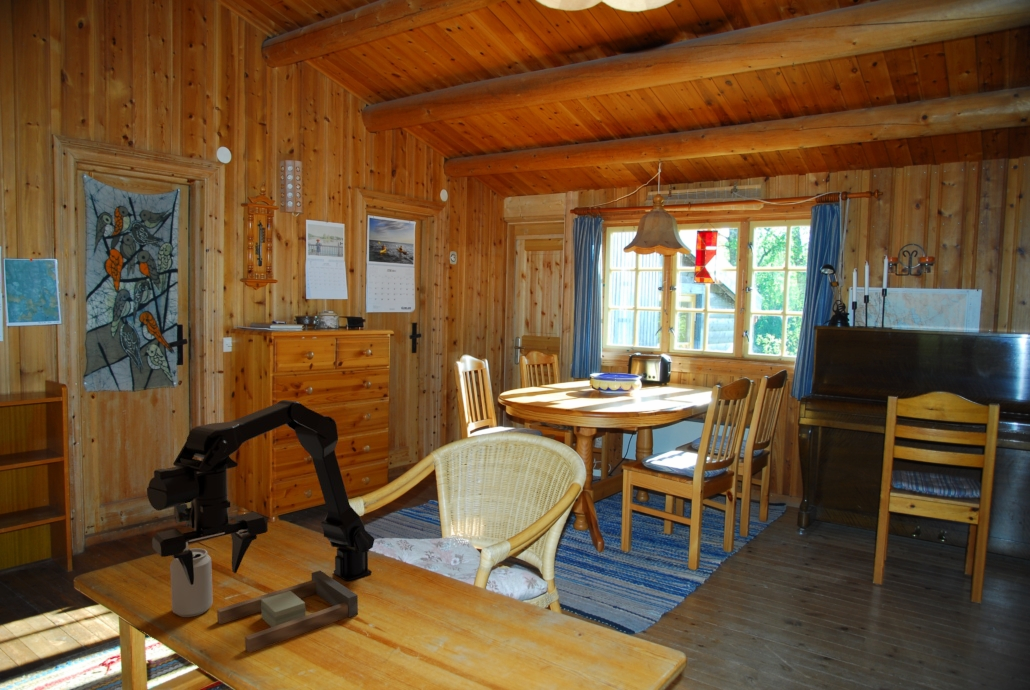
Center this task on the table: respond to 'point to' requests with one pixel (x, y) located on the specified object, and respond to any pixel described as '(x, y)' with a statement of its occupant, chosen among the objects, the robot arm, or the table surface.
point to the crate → (282, 608)
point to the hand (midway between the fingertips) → (213, 578)
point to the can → (195, 596)
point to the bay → (321, 585)
